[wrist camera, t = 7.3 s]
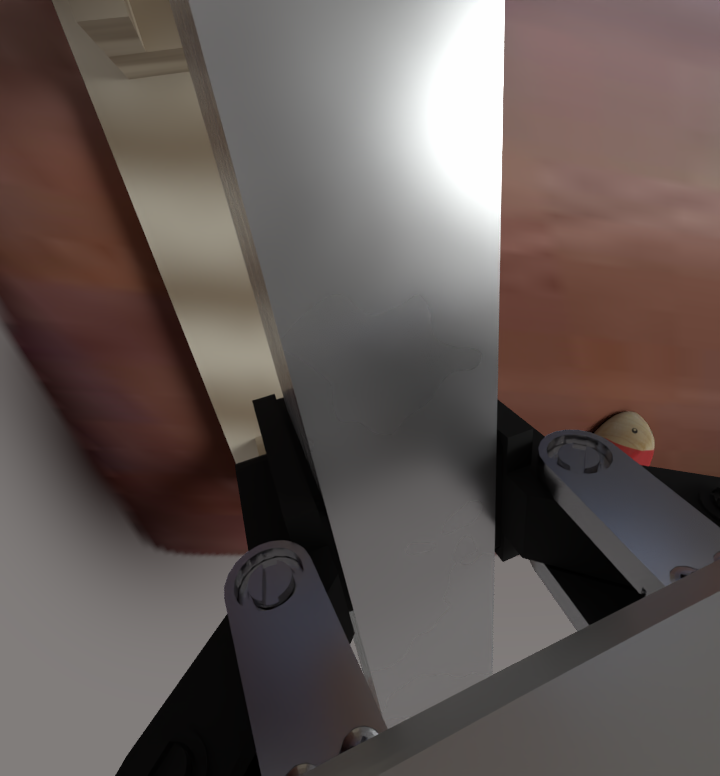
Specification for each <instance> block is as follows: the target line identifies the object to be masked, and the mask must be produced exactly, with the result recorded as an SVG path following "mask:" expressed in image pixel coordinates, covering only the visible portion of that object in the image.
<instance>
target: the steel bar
mask: <svg viewBox="0 0 720 776" xmlns="http://www.w3.org/2000/svg"><path fill="white" fill-rule="evenodd" d="M169 2H170V6H171V9H172V13H173V16H174V20H175V23H176V27H177V30H178V34H179V37H180V40H181V44H182V47H183V51H184V54H185V58H186V61H187V65H188V68H189V72H190V75H191V79H192V82H193V85H194V89H195V92H196V96H197V99H198V103H199V106H200V110H201V113H202V117H203V120H204V124H205V127H206V130H207V134H208V137H209V141H210V144H211V148H212V151H213V155H214V158H215V162H216V165H217V169H218V172H219V175H220V179H221V182H222V186H223V189H224V193H225V196H226V200H227V203H228V207H229V210H230V214H231V217H232V220H233V224H234V227H235V231H236V234H237V238H238V241H239V245H240V248H241V252H242V255H243V259H244V262H245V265H246V269H247V272H248V276H249V279H250V283H251V286H252V290H253V293H254V297H255V300H256V304H257V307H258V311H259V314H260V317H261V321H262V324H263V328H264V331H265V335H266V338H267V342H268V345H269V349H270V352H271V356H272V359H273V362H274V366H275V369H276V373H277V376H278V380H279V383H280V387H281V390H282V394H283V397H284V401H285V404H286V407H287V411H288V413H289V416H290V418H291V421H292V423H293V426H294V428H295V431H296V433H297V436H298V438H299V441H300V443H301V446H302V448H303V451H304V453H305V456H306V459H307V461H308V464H309V466H310V469H311V471H312V474H313V476H314V479H315V481H316V484H317V486H318V489H319V491H320V494H321V496H322V499H323V502H324V505H325V508H326V511H327V514H328V518H329V521H330V525H331V529H332V532H333V536H334V540H335V543H336V547H337V551H338V554H339V558H340V562H341V566H342V569H343V573H344V577H345V580H346V584H347V588H348V591H349V595H350V599H351V603H352V606H353V611H351V612H349V614H350V618H351V621H352V625H353V628H354V632H355V634H354V637H353V639H354V643H355V646H356V649H357V653H358V656H359V660H360V663H361V667H362V671H363V674H364V677H365V679H366V682H367V684H368V686H369V688H370V690H371V693H372V695H373V697H374V699H375V702H376V704H377V706H378V708H379V710H380V713H381V715H382V717H383V719H384V721H385V724H386V726H387V728H388V729H389V728H391V727H393V726H395V725H397V724H399V723H401V722H403V721H405V720H407V719H409V718H411V717H413V716H414V715H416V714H418V713H420V712H422V711H424V710H426V709H428V708H430V707H432V706H434V705H436V704H438V703H440V702H441V701H443V700H445V699H447V698H449V697H451V696H453V695H455V694H457V693H459V692H461V691H463V690H465V689H467V688H468V687H470V686H472V685H474V684H476V683H478V682H480V681H482V680H484V679H486V678H488V677H490V676H492V662H493V661H492V660H493V608H494V554H495V500H496V446H497V391H498V337H499V283H500V228H501V174H502V120H503V65H504V11H505V0H169Z"/></svg>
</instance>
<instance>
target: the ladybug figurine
mask: <svg viewBox="0 0 720 776" xmlns="http://www.w3.org/2000/svg"><path fill="white" fill-rule="evenodd" d="M594 434H596V435H599V436H602V437H603V438H605V439H607V440H608V441H610V442H612V443H613V444H614V445H615V446H617V447H618V448H619V449H621V450H622V451H623V452H624V453H626V454H627V455H628V456H629V457H631V458H632V459H633V460H634V461H636V462H637V463H638V464H640V465H644V466H650V463H651V460H652V457H653V453H654V438H653V434H652V432H651V430H650V428H649V426H648V424H647V423H646V422H645V420H644V419H643V418H642V417H641V416H640V415H638V414H637V413H635V412H622V413H619V414H617V415H615V416H613V417H611V418H610V419H608V420H607V421H606V422H605V423H603V424H602V425H601V426H600V427H599V428H598V429H597V430H596V431H595V432H594Z"/></svg>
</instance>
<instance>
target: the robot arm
mask: <svg viewBox="0 0 720 776" xmlns="http://www.w3.org/2000/svg"><path fill="white" fill-rule="evenodd" d="M252 403H253V406H254V410H255V414H256V417H257V421H258V425H259V429H260V432H261V436H262V440H263V443H264V447H265V451H266V454H264V455H261V456H258V457H255V458H252V459H249V460H246V461H243V462H240V463H237V464H236V465H235V468H236V475H237V481H238V488H239V494H240V500H241V507H242V513H243V519H244V526H245V532H246V538H247V545H248V552H247V553H245V554H244V555H243V556H242V557H241V558H240V559H239V560H238V561H237V562H236V563H235V565H234V566H233V568H232V569H231V571H230V572H229V574H228V577H227V580H226V583H225V587H224V596H225V597H224V599H225V604H226V608H227V615H226V616H225V618H224V619H223V621H222V622H221V624H220V625H219V627H218V628H217V629H216V631H215V632H214V633H213V635H212V636H211V638H210V639H209V641H208V642H207V643H206V645H205V646H204V648H203V649H202V650H201V652H200V653H199V655H198V656H197V658H196V659H195V660H194V662H193V663H192V664H191V666H190V667H189V669H188V670H187V672H186V673H185V674H184V676H183V677H182V679H181V680H180V681H179V683H178V684H177V686H176V687H175V689H174V690H173V691H172V693H171V694H170V696H169V697H168V698H167V700H166V701H165V703H164V704H163V705H162V707H161V708H160V710H159V711H158V713H157V714H156V715H155V717H154V718H153V720H152V721H151V722H150V724H149V725H148V727H147V728H146V730H145V731H144V732H143V734H142V735H141V737H140V738H139V739H138V741H137V742H136V744H135V745H134V747H133V748H132V749H131V751H130V752H129V754H128V755H127V756H126V758H125V760H124V761H123V763H122V765H121V767H120V768H119V770H118V772H117V774H116V775H115V776H720V477H714V476H707V475H701V474H695V473H688V472H682V471H676V470H669V469H663V468H657V467H650V466H644V465H640V464H638V463H637V462H636V461H634V460H633V459H632V458H631V457H629V456H628V455H627V454H626V453H624V452H623V451H622V450H621V449H619V448H618V447H617V446H615V445H614V444H613V443H612V442H610V441H608V440H607V439H605V438H603V437H602V436H599V435H596V434H594V433H591V432H586V431H581V430H562V431H556V432H553V433H551V434H549V435H547V436H546V437H545V436H543V435H542V434H541V433H540V432H538V431H537V430H536V429H534V428H533V427H532V426H531V425H529V424H528V423H527V422H526V421H524V420H523V419H522V418H520V417H519V416H518V415H517V414H515V413H514V412H513V411H512V410H510V409H509V408H508V407H506V406H505V405H504V404H503V403H501V402H500V401H499V400H498V399H497V446H496V500H495V552H496V554H497V555H498V556H499V557H500V559H501V560H502V561H503V562H504V561H506V560H508V559H511V558H513V557H515V556H517V555H519V554H520V555H521V557H522V558H525V559H529V560H530V562H531V564H532V567H533V568H534V570H535V572H536V573H537V575H538V576H539V577H540V579H541V580H542V582H543V583H544V585H545V586H546V587H547V589H548V590H549V591H550V593H551V594H552V596H553V597H554V599H555V600H556V602H557V603H558V604H559V606H560V607H561V608H562V610H563V611H564V613H565V614H566V616H567V617H568V619H569V620H570V621H571V623H572V624H573V626H574V627H575V629H576V630H577V632H575V633H574V634H572V635H570V636H568V637H566V638H564V639H562V640H560V641H558V642H556V643H554V644H552V645H550V646H548V647H546V648H544V649H542V650H540V651H539V652H536V653H534V654H533V655H531V656H529V657H527V658H525V659H523V660H521V661H519V662H517V663H515V664H513V665H511V666H509V667H507V668H505V669H503V670H502V671H500V672H497V673H496V674H494V675H492V676H490V677H488V678H486V679H484V680H482V681H480V682H478V683H476V684H474V685H472V686H470V687H468V688H467V689H465V690H463V691H461V692H459V693H457V694H455V695H453V696H451V697H449V698H447V699H445V700H443V701H441V702H440V703H438V704H436V705H434V706H432V707H430V708H428V709H426V710H424V711H422V712H420V713H418V714H416V715H414V716H413V717H411V718H409V719H407V720H405V721H403V722H401V723H399V724H397V725H395V726H393V727H391V728H389V729H388V728H387V726H386V724H385V721H384V719H383V717H382V715H381V713H380V710H379V708H378V706H377V704H376V702H375V699H374V697H373V695H372V693H371V690H370V688H369V686H368V684H367V682H366V679H365V677H364V675H363V673H362V670H361V668H360V666H359V664H358V662H357V659H356V657H355V655H354V653H353V651H352V648H351V646H350V643H351V641H352V639H353V637H354V634H355V632H354V628H353V625H352V621H351V618H350V614H349V612H351V611H353V606H352V603H351V599H350V595H349V591H348V588H347V584H346V580H345V577H344V573H343V569H342V566H341V562H340V558H339V554H338V551H337V547H336V543H335V540H334V536H333V532H332V529H331V525H330V521H329V518H328V514H327V511H326V508H325V505H324V502H323V499H322V496H321V494H320V491H319V489H318V486H317V484H316V481H315V479H314V476H313V474H312V471H311V469H310V466H309V464H308V461H307V459H306V456H305V453H304V451H303V448H302V446H301V443H300V441H299V438H298V436H297V433H296V431H295V428H294V426H293V423H292V421H291V418H290V416H289V413H288V411H287V407H286V404H285V401H284V397H283V398H279V399H276V396H275V394H272V395H269V396H265V397H262V398H259V399H256V400H252Z"/></svg>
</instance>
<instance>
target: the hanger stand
mask: <svg viewBox="0 0 720 776" xmlns="http://www.w3.org/2000/svg"><path fill="white" fill-rule="evenodd" d="M52 2H53V5H54V7H55V10H56V12H57V15H58V17H59V20H60V23H61V25H62V28H63V30H64V33H65V35H66V38H67V40H68V43H69V45H70V48H71V50H72V53H73V55H74V58H75V60H76V63H77V65H78V68H79V70H80V73H81V75H82V78H83V80H84V83H85V85H86V88H87V90H88V93H89V95H90V98H91V100H92V103H93V105H94V108H95V110H96V113H97V115H98V118H99V120H100V123H101V126H102V128H103V131H104V133H105V136H106V138H107V141H108V143H109V146H110V148H111V151H112V153H113V156H114V158H115V161H116V163H117V166H118V168H119V171H120V173H121V176H122V178H123V181H124V183H125V186H126V188H127V191H128V193H129V196H130V198H131V201H132V203H133V206H134V208H135V211H136V213H137V216H138V218H139V221H140V224H141V226H142V229H143V231H144V234H145V236H146V239H147V241H148V244H149V246H150V249H151V251H152V254H153V256H154V259H155V261H156V264H157V266H158V269H159V271H160V274H161V276H162V279H163V281H164V284H165V286H166V289H167V291H168V294H169V296H170V299H171V301H172V304H173V306H174V309H175V311H176V314H177V316H178V319H179V322H180V324H181V327H182V329H183V332H184V334H185V337H186V339H187V342H188V344H189V347H190V349H191V352H192V354H193V357H194V359H195V362H196V364H197V367H198V369H199V372H200V374H201V377H202V379H203V382H204V384H205V387H206V389H207V392H208V394H209V397H210V399H211V402H212V404H213V407H214V409H215V412H216V414H217V417H218V420H219V422H220V425H221V427H222V430H223V432H224V435H225V437H226V440H227V442H228V445H229V447H230V450H231V452H232V455H233V457H234V460H235V462H236V464H237V463H240V462H243V461H246V460H249V459H252V458H255V457H258V456H261V455H264V454H266V451H265V447H264V443H263V440H262V436H261V432H260V429H259V425H258V421H257V417H256V414H255V410H254V406H253V403H252V400H256V399H259V398H262V397H265V396H269V395H272V394H275V396H276V399H279V398H283V394H282V390H281V387H280V383H279V380H278V376H277V373H276V369H275V366H274V362H273V359H272V356H271V352H270V349H269V345H268V342H267V338H266V335H265V331H264V328H263V324H262V321H261V317H260V314H259V311H258V307H257V304H256V300H255V297H254V293H253V290H252V286H251V283H250V279H249V276H248V272H247V269H246V265H245V262H244V259H243V255H242V252H241V248H240V245H239V241H238V238H237V234H236V231H235V227H234V224H233V220H232V217H231V214H230V210H229V207H228V203H227V200H226V196H225V193H224V189H223V186H222V182H221V179H220V175H219V172H218V169H217V165H216V162H215V158H214V155H213V151H212V148H211V144H210V141H209V137H208V134H207V130H206V127H205V124H204V120H203V117H202V113H201V110H200V106H199V103H198V99H197V96H196V92H195V89H194V85H193V82H192V79H191V75H190V72H189V68H188V65H187V61H186V58H185V54H184V51H183V47H182V44H181V40H180V37H179V34H178V30H177V27H176V23H175V20H174V16H173V13H172V9H171V6H170V2H169V0H52Z"/></svg>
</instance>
